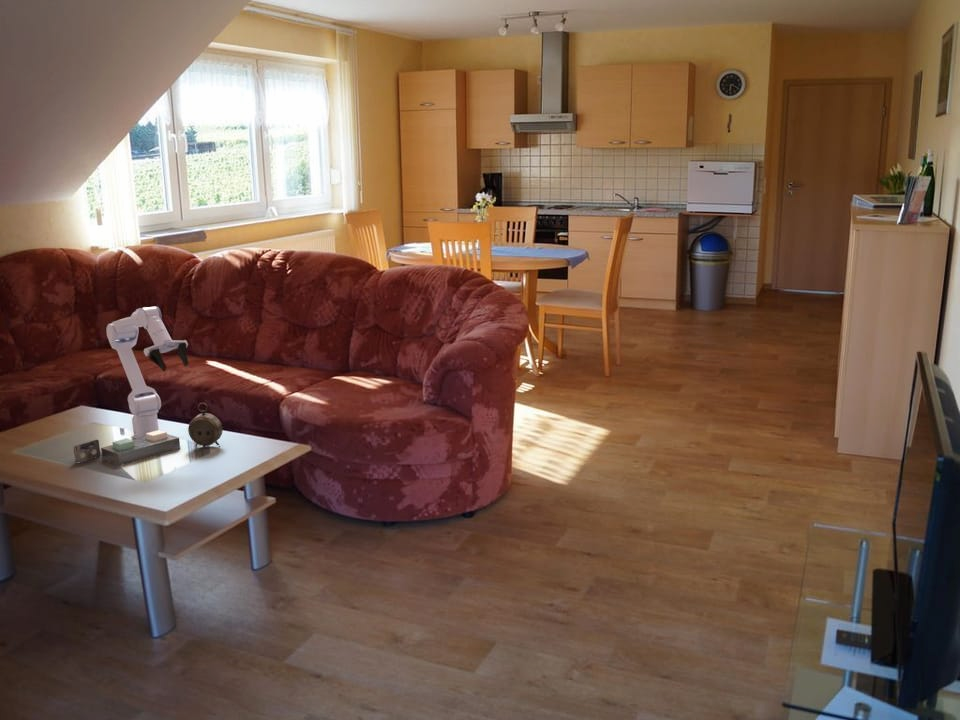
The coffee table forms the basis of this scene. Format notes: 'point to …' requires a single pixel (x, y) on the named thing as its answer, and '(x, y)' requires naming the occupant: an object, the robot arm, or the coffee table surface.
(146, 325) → the robot arm
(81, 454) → the mini dv tape
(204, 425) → the alarm clock
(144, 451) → the key housing
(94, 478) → the coffee table surface
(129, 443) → the teal key
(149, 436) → the white key
